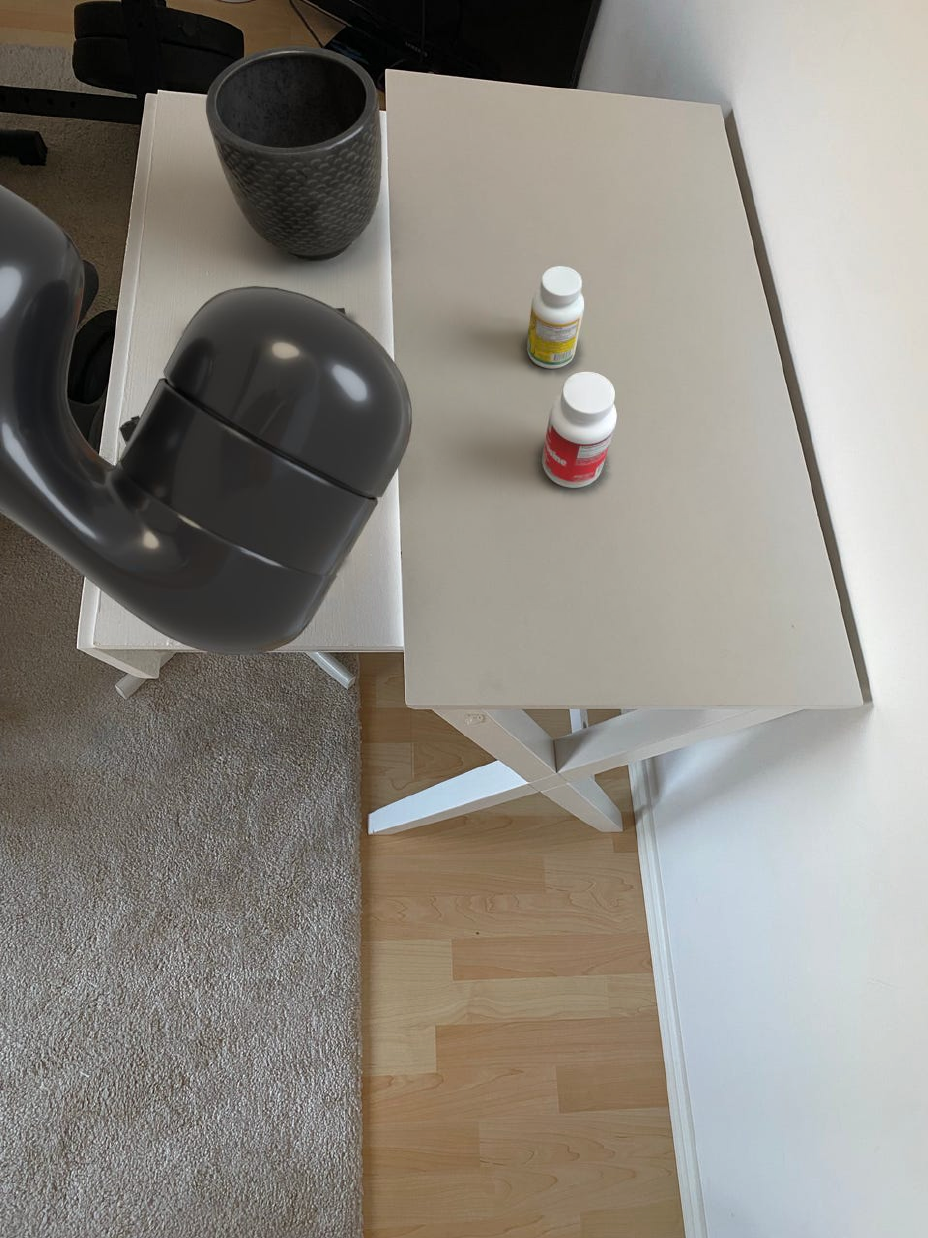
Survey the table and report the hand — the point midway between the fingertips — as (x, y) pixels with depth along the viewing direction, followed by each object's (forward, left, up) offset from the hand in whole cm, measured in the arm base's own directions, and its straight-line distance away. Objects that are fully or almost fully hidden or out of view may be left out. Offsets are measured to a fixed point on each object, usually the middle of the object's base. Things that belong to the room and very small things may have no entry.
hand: (248, 403), depth 53 cm
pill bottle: (+27, +9, -24) cm, 37 cm away
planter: (+2, +44, -24) cm, 50 cm away
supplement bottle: (+27, +24, -24) cm, 43 cm away
